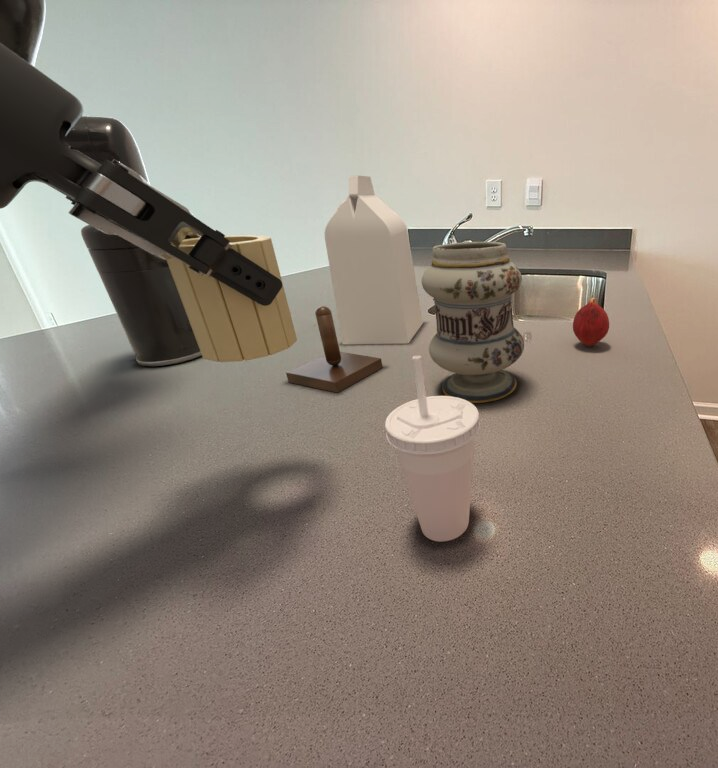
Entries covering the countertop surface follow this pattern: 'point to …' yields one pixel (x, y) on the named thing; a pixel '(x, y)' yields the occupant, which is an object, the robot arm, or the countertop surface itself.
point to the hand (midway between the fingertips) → (257, 287)
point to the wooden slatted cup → (234, 307)
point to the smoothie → (436, 457)
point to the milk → (372, 270)
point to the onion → (591, 323)
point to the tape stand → (333, 361)
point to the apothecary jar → (474, 318)
